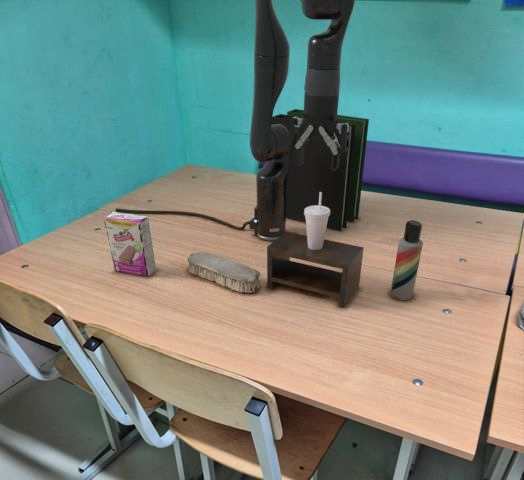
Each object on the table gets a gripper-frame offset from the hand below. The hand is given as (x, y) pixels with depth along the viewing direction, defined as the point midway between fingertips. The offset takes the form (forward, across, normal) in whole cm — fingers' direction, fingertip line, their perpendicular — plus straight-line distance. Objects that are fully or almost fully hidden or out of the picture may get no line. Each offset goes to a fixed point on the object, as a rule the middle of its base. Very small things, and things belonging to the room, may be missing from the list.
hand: (316, 167), depth 117 cm
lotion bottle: (+31, -24, -5) cm, 39 cm away
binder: (+32, +18, -43) cm, 57 cm away
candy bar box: (+32, +46, +18) cm, 59 cm away
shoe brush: (+31, +22, +10) cm, 39 cm away
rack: (+31, -2, +3) cm, 31 cm away
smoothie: (+19, -2, +3) cm, 19 cm away
